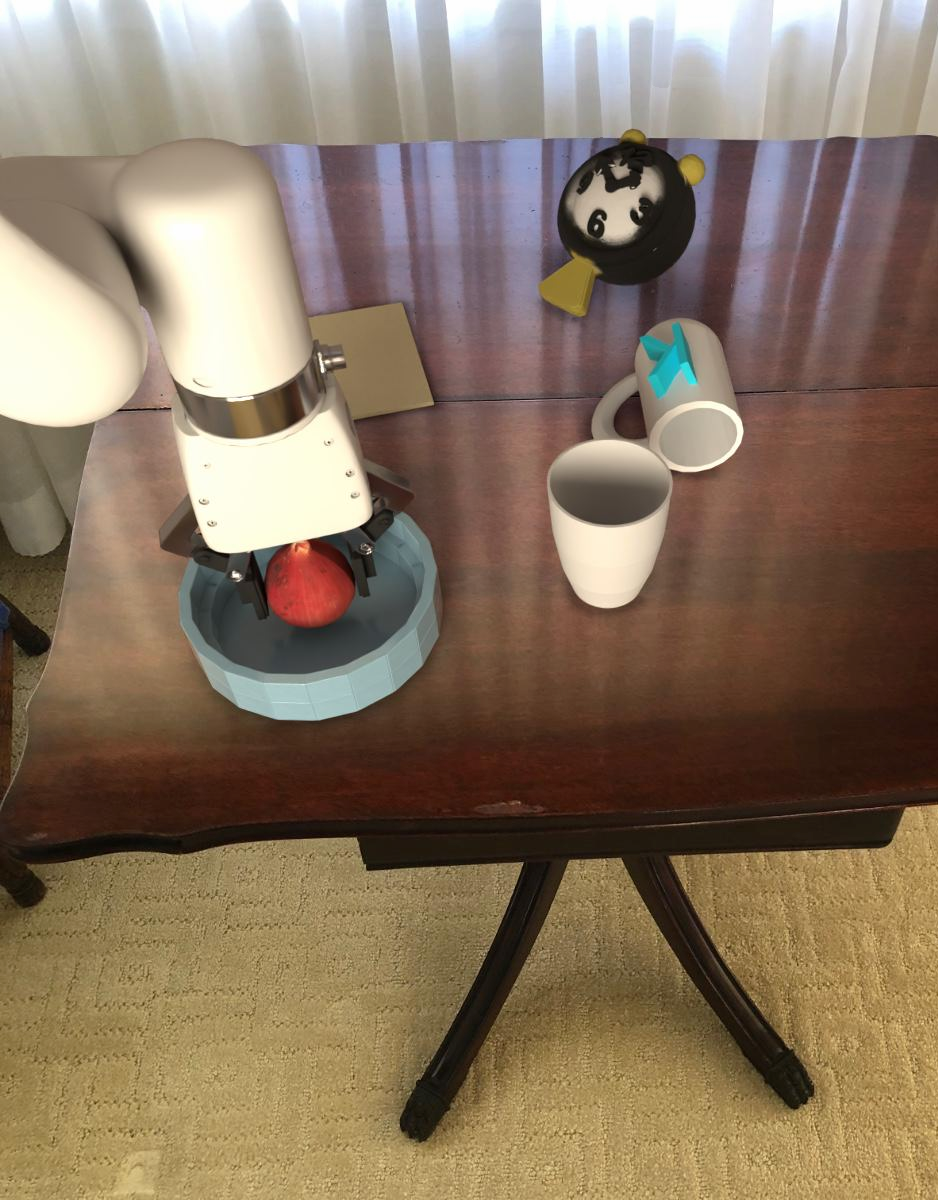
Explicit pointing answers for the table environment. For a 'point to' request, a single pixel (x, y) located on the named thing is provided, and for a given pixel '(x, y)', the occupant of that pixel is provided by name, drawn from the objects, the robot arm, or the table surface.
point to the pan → (318, 634)
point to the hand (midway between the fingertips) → (311, 590)
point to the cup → (608, 516)
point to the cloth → (375, 359)
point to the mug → (679, 397)
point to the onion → (309, 583)
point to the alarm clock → (623, 219)
